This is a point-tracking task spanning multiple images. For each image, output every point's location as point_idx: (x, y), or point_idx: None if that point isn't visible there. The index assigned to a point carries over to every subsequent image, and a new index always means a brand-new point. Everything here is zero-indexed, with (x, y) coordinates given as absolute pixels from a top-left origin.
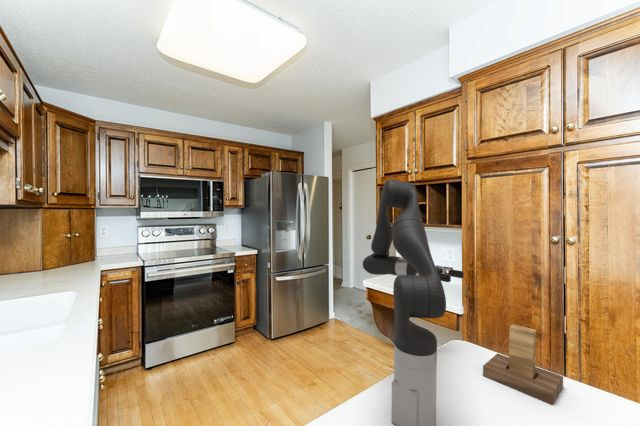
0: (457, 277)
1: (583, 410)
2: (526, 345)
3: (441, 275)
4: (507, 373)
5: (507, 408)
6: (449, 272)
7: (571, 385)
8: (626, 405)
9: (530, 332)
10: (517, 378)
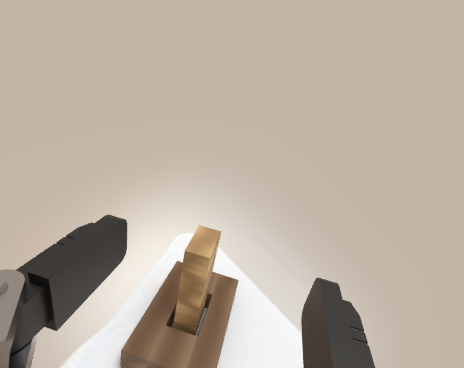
0: (99, 283)
1: (220, 267)
2: (213, 261)
3: (361, 349)
4: (218, 332)
5: (288, 350)
6: (23, 324)
7: (160, 264)
8: (182, 234)
9: (219, 233)
10: (226, 317)
